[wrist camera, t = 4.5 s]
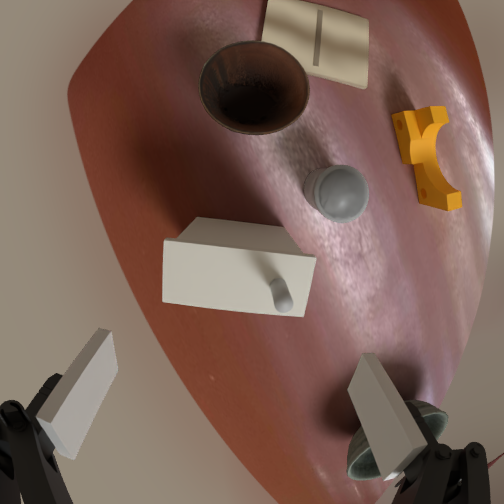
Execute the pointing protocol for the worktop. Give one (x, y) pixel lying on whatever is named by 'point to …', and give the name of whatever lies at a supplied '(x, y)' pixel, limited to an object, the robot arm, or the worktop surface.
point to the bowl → (360, 452)
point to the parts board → (320, 39)
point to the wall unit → (237, 268)
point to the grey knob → (337, 192)
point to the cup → (254, 87)
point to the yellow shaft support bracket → (425, 155)
